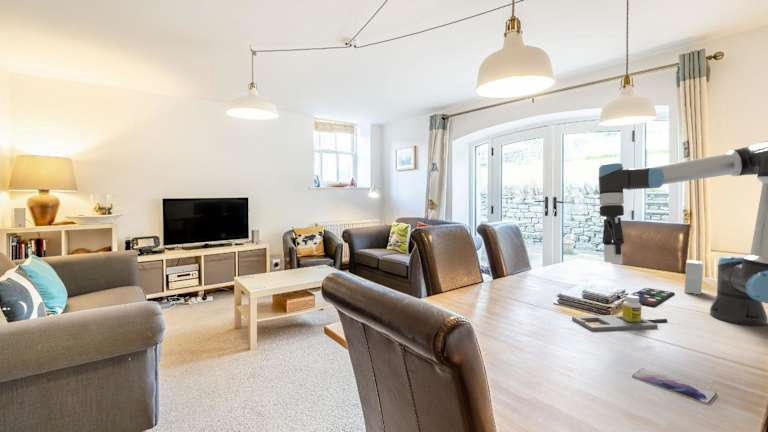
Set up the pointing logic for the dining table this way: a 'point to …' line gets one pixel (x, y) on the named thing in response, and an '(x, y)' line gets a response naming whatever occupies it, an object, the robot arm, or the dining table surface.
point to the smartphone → (676, 386)
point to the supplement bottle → (631, 310)
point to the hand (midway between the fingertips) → (613, 263)
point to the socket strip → (615, 323)
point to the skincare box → (693, 277)
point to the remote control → (652, 296)
